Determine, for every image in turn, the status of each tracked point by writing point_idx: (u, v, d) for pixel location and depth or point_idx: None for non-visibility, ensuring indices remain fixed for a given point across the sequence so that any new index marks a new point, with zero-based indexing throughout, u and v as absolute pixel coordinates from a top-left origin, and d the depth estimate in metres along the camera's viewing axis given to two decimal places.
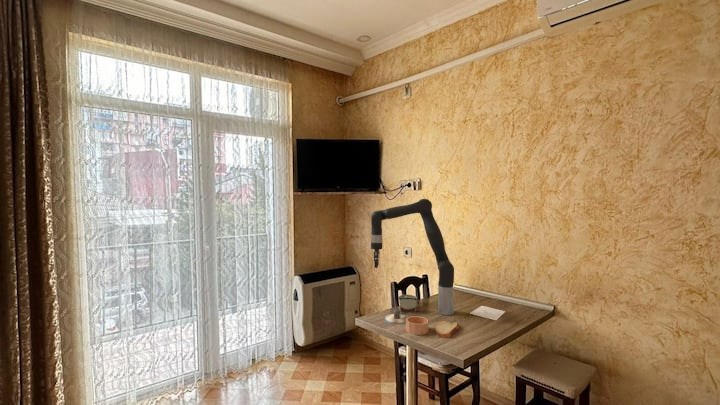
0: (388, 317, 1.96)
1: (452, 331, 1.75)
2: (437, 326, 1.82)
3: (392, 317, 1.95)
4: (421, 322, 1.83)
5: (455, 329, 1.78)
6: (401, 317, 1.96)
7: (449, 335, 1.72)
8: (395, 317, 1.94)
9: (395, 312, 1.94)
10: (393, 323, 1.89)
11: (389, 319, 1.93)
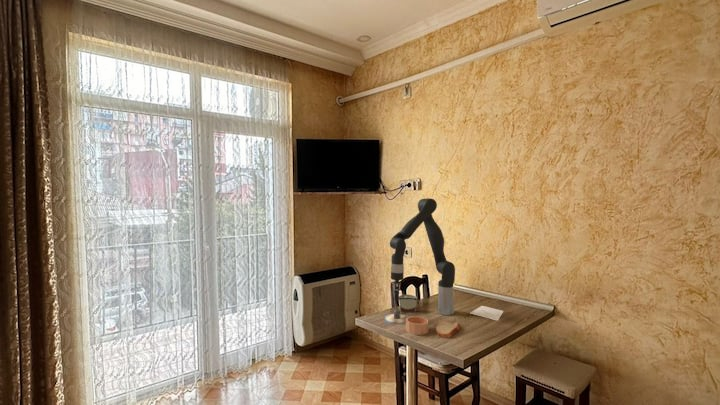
0: (388, 317, 1.96)
1: (452, 331, 1.74)
2: (438, 326, 1.82)
3: (392, 317, 1.95)
4: (421, 322, 1.83)
5: (456, 329, 1.77)
6: (401, 317, 1.96)
7: (449, 335, 1.71)
8: (395, 317, 1.94)
9: (395, 312, 1.94)
10: (393, 323, 1.89)
11: (389, 319, 1.93)
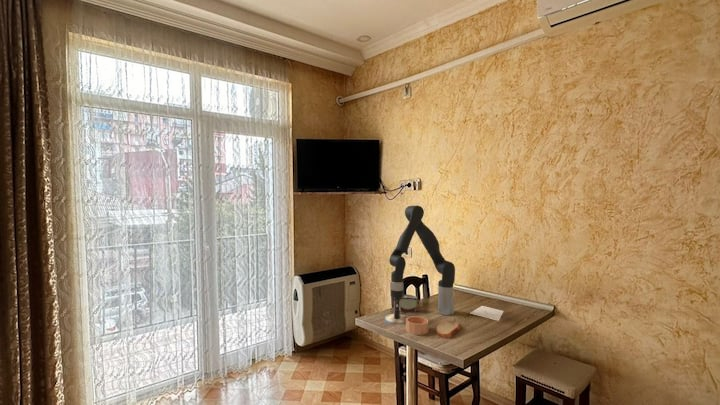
0: (388, 317, 1.96)
1: (453, 331, 1.74)
2: (438, 326, 1.81)
3: (392, 317, 1.95)
4: (421, 322, 1.83)
5: (456, 329, 1.77)
6: (401, 317, 1.96)
7: (450, 335, 1.71)
8: None
9: None
10: (393, 323, 1.89)
11: (389, 319, 1.93)
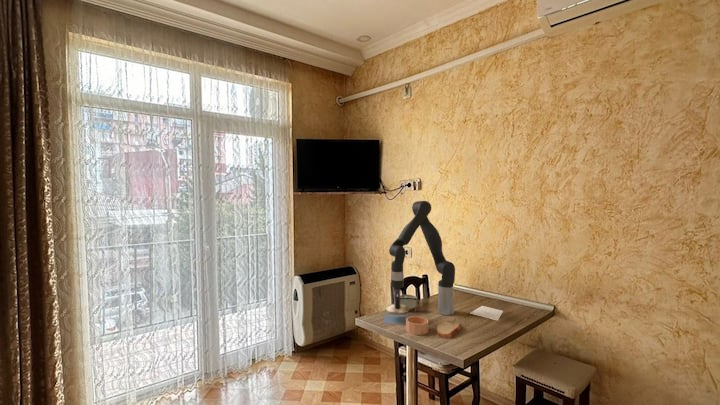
0: (389, 307, 1.96)
1: (453, 331, 1.74)
2: (439, 326, 1.81)
3: (393, 307, 1.95)
4: (421, 322, 1.83)
5: (456, 330, 1.77)
6: (402, 307, 1.96)
7: (450, 335, 1.71)
8: None
9: (395, 302, 1.94)
10: (393, 323, 1.89)
11: (390, 309, 1.93)
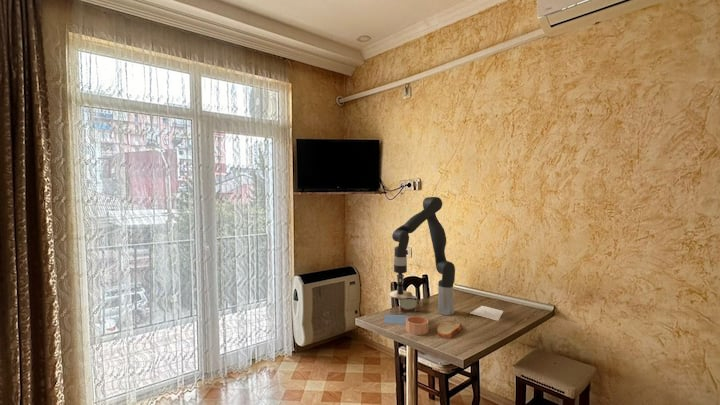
0: (391, 293, 1.93)
1: (453, 332, 1.74)
2: (439, 326, 1.81)
3: (396, 293, 1.93)
4: (421, 322, 1.83)
5: (457, 330, 1.77)
6: (404, 293, 1.93)
7: (450, 336, 1.71)
8: None
9: None
10: (393, 323, 1.89)
11: (392, 294, 1.90)
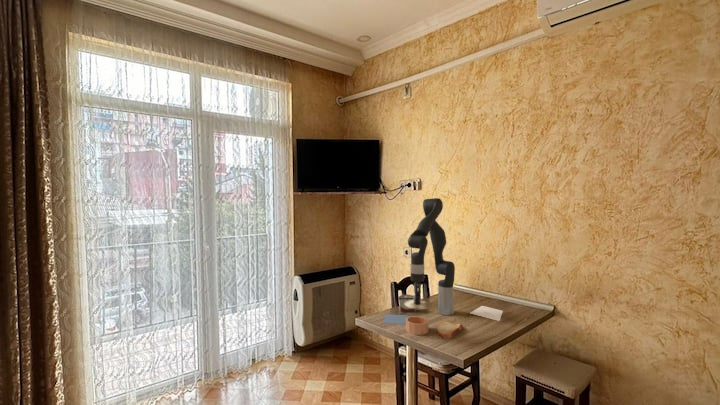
0: (407, 303, 1.80)
1: (454, 332, 1.74)
2: (439, 326, 1.81)
3: (412, 303, 1.79)
4: (421, 322, 1.83)
5: (457, 330, 1.76)
6: (421, 303, 1.80)
7: (450, 336, 1.71)
8: None
9: None
10: (393, 323, 1.89)
11: (409, 305, 1.77)
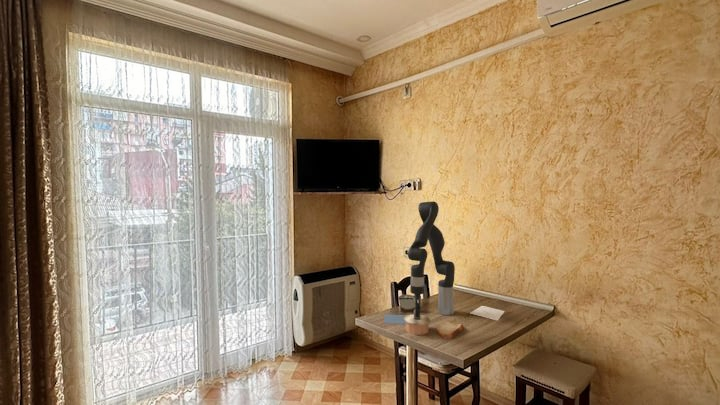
0: (407, 318, 1.80)
1: (454, 332, 1.73)
2: (440, 326, 1.81)
3: (412, 318, 1.79)
4: None
5: (458, 330, 1.76)
6: (421, 318, 1.80)
7: (450, 336, 1.71)
8: (415, 318, 1.78)
9: None
10: (393, 323, 1.89)
11: (409, 320, 1.77)
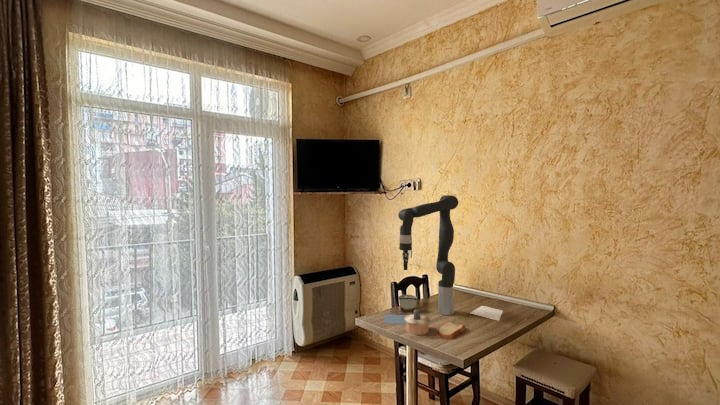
0: (407, 318, 1.80)
1: (455, 333, 1.73)
2: (441, 327, 1.80)
3: (412, 318, 1.79)
4: None
5: (459, 331, 1.75)
6: (421, 318, 1.80)
7: (451, 336, 1.70)
8: (415, 318, 1.78)
9: (415, 312, 1.78)
10: (393, 323, 1.89)
11: (409, 320, 1.77)
